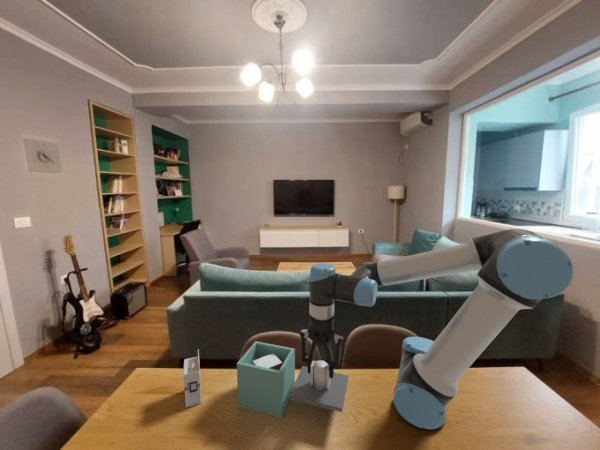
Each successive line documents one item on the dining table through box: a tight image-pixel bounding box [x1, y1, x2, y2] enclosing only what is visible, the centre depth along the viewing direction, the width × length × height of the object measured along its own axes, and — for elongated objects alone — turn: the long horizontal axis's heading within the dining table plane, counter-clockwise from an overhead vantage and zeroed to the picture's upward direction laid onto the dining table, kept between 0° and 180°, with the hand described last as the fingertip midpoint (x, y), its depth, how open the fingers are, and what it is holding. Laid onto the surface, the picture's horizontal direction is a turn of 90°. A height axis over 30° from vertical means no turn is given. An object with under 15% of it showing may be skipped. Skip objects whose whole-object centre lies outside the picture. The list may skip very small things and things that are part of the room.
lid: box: [289, 360, 349, 413], centre depth 85 cm, size 16×14×10 cm
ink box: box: [183, 348, 202, 408], centre depth 89 cm, size 9×5×15 cm, turn 22°
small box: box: [253, 353, 282, 370], centre depth 90 cm, size 8×6×13 cm
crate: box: [236, 340, 296, 419], centre depth 89 cm, size 15×13×15 cm
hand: (320, 383), depth 85 cm, fingers closed on lid, 4 cm apart
